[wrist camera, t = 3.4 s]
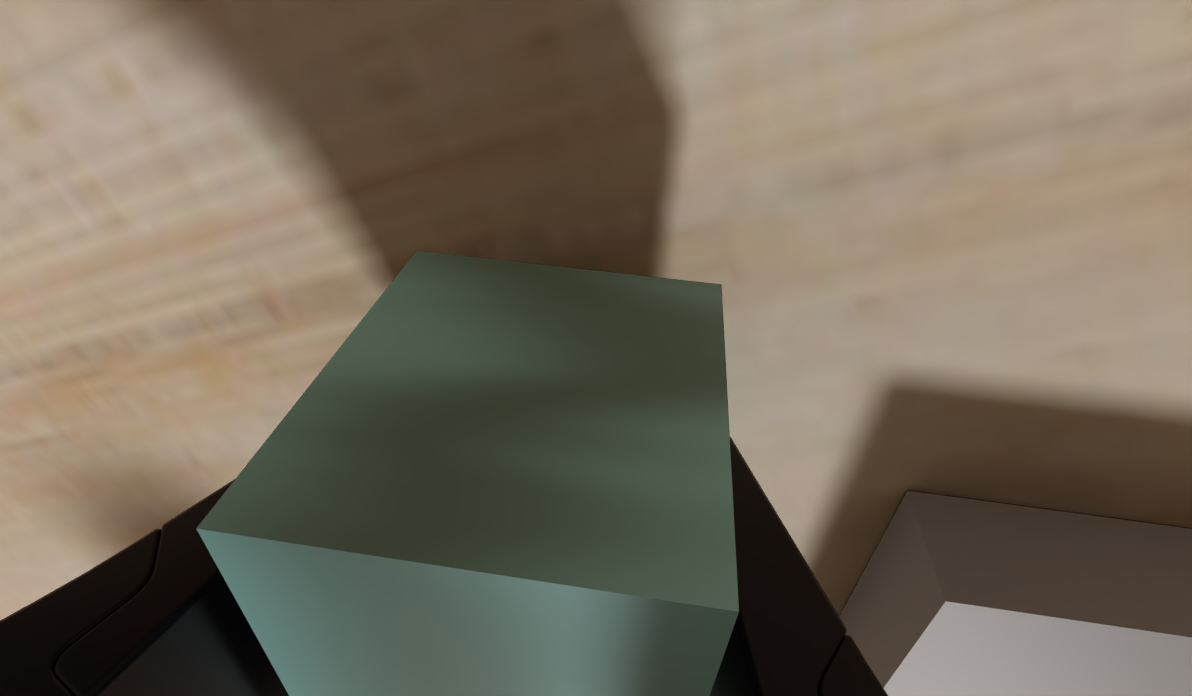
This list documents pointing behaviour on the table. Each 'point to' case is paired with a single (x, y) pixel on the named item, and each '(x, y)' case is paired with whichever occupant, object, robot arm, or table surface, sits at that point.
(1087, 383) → the table surface
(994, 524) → the plinth
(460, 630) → the teal block
